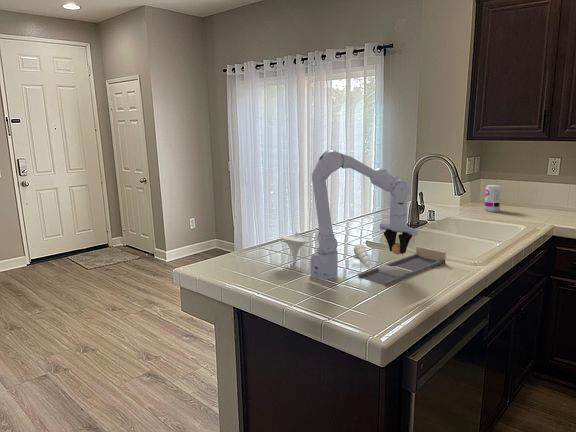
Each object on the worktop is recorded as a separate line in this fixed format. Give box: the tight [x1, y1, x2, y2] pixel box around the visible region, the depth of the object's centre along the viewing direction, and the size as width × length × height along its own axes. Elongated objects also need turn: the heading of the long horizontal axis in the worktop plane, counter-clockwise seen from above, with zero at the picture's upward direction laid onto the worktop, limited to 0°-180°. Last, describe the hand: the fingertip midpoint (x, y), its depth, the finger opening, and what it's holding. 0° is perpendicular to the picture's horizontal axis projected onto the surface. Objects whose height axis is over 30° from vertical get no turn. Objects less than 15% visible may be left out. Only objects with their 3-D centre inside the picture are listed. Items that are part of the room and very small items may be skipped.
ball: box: [391, 242, 402, 255], centre depth 155 cm, size 4×4×4 cm
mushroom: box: [280, 231, 308, 263], centre depth 172 cm, size 10×11×12 cm
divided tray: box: [357, 245, 447, 287], centre depth 159 cm, size 36×12×8 cm, turn 130°
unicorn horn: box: [353, 243, 374, 270], centre depth 169 cm, size 5×24×5 cm, turn 0°
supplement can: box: [483, 184, 502, 213], centre depth 258 cm, size 8×8×15 cm
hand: (397, 252), depth 155 cm, fingers closed on ball, 4 cm apart
